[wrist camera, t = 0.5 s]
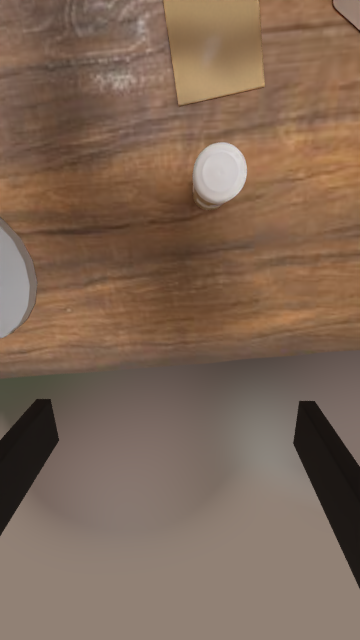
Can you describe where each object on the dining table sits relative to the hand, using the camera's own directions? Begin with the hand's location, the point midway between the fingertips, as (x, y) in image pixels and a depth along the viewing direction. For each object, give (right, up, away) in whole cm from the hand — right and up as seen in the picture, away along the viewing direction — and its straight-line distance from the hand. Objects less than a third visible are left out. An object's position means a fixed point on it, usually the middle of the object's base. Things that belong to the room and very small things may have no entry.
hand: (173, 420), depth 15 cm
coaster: (+4, +36, +16) cm, 40 cm away
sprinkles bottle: (+4, +22, +21) cm, 31 cm away
